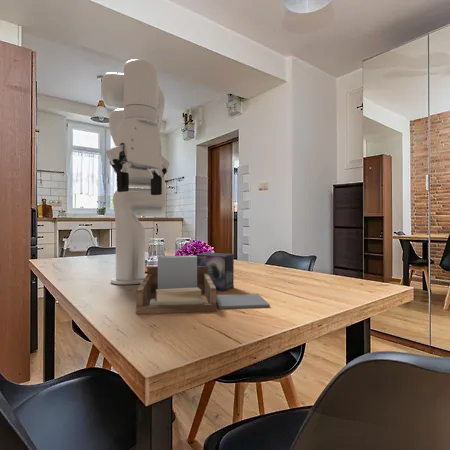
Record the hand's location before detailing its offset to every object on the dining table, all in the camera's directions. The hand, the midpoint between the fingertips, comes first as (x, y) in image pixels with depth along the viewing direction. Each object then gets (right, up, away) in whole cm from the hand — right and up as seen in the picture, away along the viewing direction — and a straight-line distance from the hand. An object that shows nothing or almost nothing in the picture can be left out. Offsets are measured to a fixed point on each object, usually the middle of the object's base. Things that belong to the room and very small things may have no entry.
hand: (140, 193), depth 74 cm
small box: (+16, -27, +25) cm, 40 cm away
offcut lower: (+8, -27, 0) cm, 28 cm away
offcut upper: (+9, -24, +1) cm, 26 cm away
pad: (+23, -27, +7) cm, 36 cm away
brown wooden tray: (+7, -26, +9) cm, 29 cm away
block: (+7, -27, +11) cm, 29 cm away
